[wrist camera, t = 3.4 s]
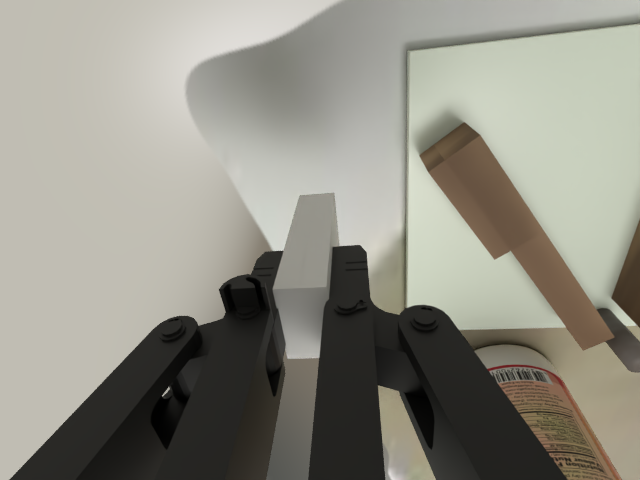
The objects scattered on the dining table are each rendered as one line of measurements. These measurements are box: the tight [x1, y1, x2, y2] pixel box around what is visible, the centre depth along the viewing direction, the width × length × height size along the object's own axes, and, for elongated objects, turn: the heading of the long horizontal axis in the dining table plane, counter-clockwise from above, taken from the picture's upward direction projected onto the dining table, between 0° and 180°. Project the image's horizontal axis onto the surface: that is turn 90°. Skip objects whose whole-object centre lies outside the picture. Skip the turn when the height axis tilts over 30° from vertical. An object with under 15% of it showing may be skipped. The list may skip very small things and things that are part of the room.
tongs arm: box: [419, 122, 615, 350], centre depth 23 cm, size 3×17×3 cm, turn 41°
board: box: [406, 23, 640, 330], centre depth 23 cm, size 28×20×1 cm
